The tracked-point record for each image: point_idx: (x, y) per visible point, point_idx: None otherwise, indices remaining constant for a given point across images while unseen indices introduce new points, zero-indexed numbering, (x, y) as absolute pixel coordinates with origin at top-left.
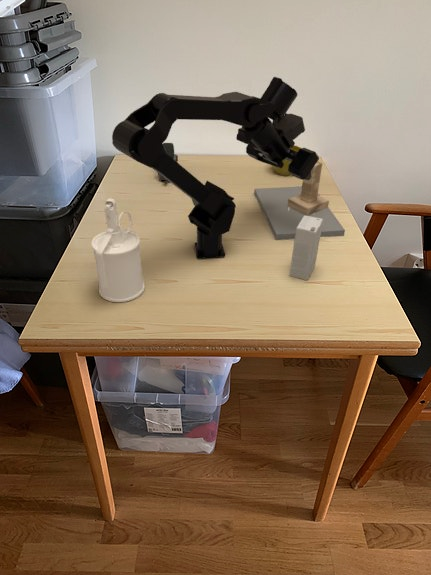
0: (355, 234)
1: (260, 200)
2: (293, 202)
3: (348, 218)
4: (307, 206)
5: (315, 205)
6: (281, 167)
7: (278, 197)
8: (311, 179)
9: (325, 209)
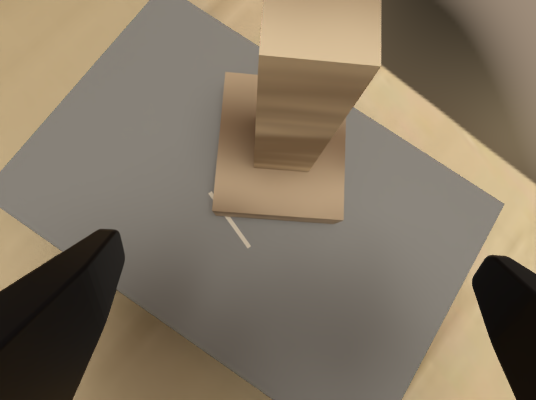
0: (503, 169)
1: None
2: (249, 214)
3: (410, 90)
4: (326, 203)
5: (342, 166)
6: (121, 265)
7: (130, 179)
8: (334, 123)
9: None
